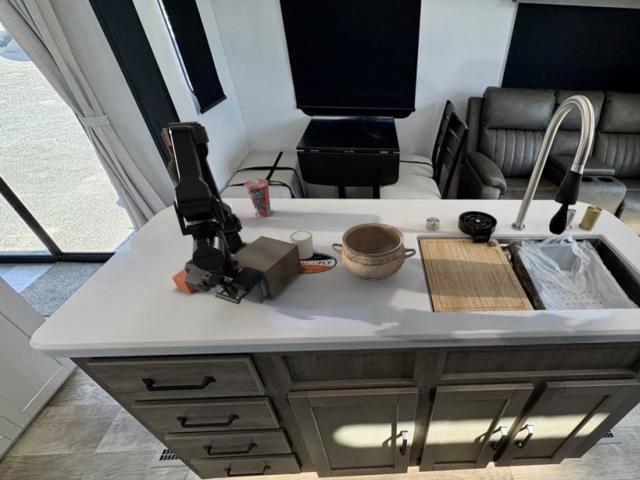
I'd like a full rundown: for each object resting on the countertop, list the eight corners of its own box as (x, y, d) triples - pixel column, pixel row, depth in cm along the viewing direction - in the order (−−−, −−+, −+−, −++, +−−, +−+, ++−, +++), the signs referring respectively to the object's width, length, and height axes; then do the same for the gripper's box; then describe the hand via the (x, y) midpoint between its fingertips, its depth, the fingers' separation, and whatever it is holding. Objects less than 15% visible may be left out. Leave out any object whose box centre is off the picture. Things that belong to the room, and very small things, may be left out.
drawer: (248, 316, 83) (240, 294, 78) (213, 304, 86) (202, 283, 81) (290, 276, 96) (285, 255, 91) (259, 267, 99) (252, 246, 94)
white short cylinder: (310, 261, 103) (306, 242, 99) (290, 258, 104) (285, 239, 100) (318, 250, 108) (315, 231, 104) (299, 247, 109) (295, 228, 105)
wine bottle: (207, 224, 119) (171, 135, 99) (186, 223, 119) (146, 135, 99) (216, 215, 124) (184, 129, 105) (196, 214, 124) (160, 128, 104)
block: (178, 289, 91) (171, 277, 88) (191, 280, 94) (184, 268, 91) (190, 293, 90) (184, 281, 87) (202, 284, 93) (197, 272, 90)
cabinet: (272, 298, 89) (264, 272, 83) (235, 287, 92) (225, 261, 86) (302, 270, 100) (297, 244, 94) (268, 260, 103) (261, 235, 97)
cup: (251, 210, 128) (243, 180, 120) (274, 207, 131) (266, 177, 123) (253, 221, 122) (244, 190, 114) (277, 217, 125) (269, 186, 117)
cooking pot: (326, 288, 94) (321, 252, 85) (340, 252, 108) (337, 219, 100) (413, 294, 93) (415, 259, 85) (415, 257, 107) (418, 224, 99)
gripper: (151, 255, 70) (181, 308, 81) (219, 275, 66) (242, 328, 76) (192, 232, 78) (214, 282, 89) (256, 248, 74) (271, 299, 84)
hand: (234, 297), depth 84 cm, fingers closed
